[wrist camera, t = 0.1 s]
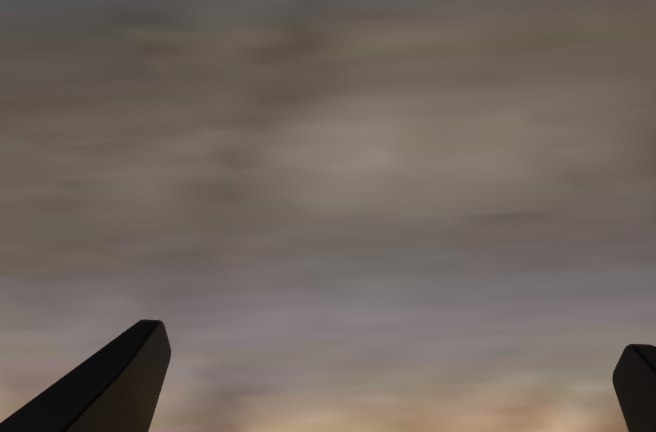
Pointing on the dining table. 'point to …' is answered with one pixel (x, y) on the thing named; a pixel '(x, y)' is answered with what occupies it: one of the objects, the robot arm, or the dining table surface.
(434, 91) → the dining table surface
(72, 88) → the dining table surface
